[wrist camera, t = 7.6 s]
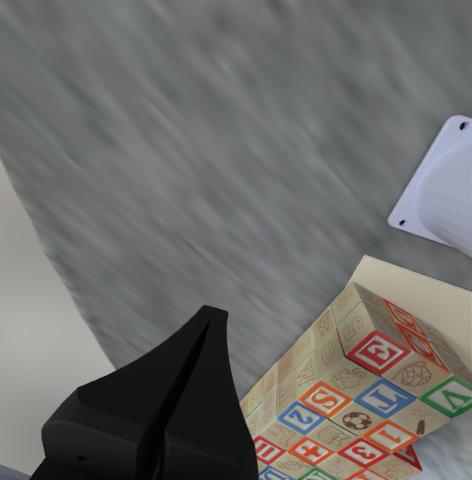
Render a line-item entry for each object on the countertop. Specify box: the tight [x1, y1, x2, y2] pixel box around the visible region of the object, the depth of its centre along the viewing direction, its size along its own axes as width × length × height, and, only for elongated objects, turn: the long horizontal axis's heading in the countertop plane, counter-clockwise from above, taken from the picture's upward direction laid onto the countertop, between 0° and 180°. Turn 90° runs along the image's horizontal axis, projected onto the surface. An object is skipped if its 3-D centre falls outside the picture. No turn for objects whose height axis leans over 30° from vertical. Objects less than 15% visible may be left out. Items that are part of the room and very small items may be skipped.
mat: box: [345, 255, 472, 372], centre depth 25 cm, size 14×26×1 cm, turn 163°
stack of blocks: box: [240, 281, 472, 480], centre depth 23 cm, size 21×6×12 cm
